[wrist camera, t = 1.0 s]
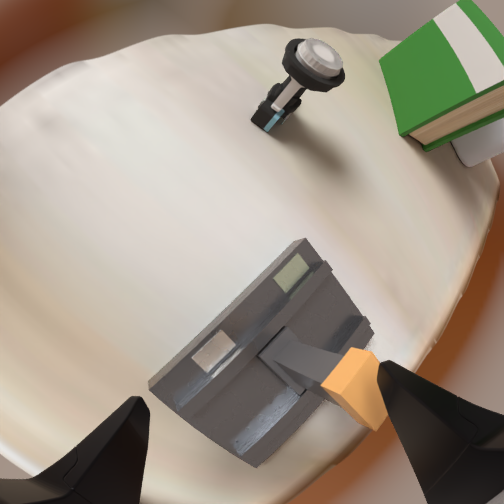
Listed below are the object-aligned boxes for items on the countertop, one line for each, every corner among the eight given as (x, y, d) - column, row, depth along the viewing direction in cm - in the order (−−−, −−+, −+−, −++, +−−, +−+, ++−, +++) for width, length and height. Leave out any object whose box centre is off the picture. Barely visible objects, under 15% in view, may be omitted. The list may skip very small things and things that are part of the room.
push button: (267, 82, 26) (313, 21, 17) (305, 110, 27) (361, 58, 18) (235, 114, 24) (281, 43, 15) (279, 146, 25) (341, 88, 16)
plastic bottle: (430, 108, 41) (529, 56, 15) (446, 101, 46) (526, 60, 20) (464, 173, 42) (567, 137, 16) (474, 155, 48) (557, 123, 22)
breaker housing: (248, 457, 20) (261, 475, 17) (148, 381, 18) (149, 396, 16) (361, 331, 26) (383, 334, 23) (293, 241, 24) (313, 235, 22)
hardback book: (426, 152, 36) (540, 102, 14) (399, 134, 34) (526, 69, 12) (405, 78, 39) (490, 24, 17) (378, 60, 36) (467, -5, 14)
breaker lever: (293, 391, 20) (375, 435, 11) (255, 353, 20) (334, 394, 11) (317, 364, 21) (405, 394, 13) (281, 325, 21) (371, 344, 12)
